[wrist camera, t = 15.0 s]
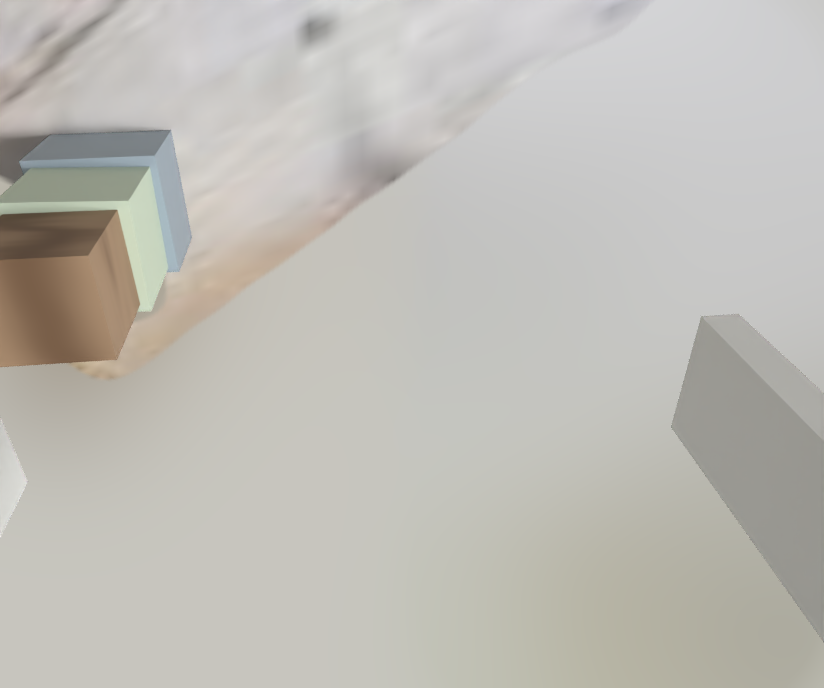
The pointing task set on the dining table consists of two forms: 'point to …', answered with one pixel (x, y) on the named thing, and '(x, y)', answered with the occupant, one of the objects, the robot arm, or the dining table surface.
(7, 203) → the sage block
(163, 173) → the slate block
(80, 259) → the walnut block
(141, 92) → the dining table surface
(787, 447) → the robot arm
